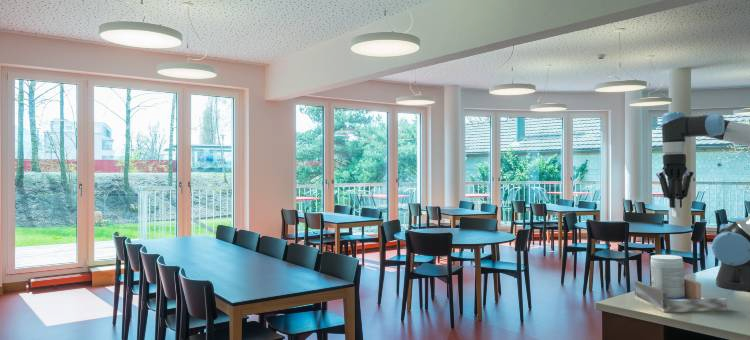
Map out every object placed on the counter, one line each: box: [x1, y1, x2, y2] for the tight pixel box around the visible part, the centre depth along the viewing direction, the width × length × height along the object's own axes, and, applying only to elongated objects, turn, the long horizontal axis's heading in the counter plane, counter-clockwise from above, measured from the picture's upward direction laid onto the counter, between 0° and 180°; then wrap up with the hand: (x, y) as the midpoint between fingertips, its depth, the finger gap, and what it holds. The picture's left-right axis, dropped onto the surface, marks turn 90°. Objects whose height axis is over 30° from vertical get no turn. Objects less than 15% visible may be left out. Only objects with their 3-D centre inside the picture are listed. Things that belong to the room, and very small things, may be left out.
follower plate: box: [684, 277, 702, 299], centre depth 170 cm, size 2×14×7 cm, turn 0°
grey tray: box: [634, 280, 728, 313], centre depth 170 cm, size 20×18×6 cm
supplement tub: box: [650, 254, 685, 300], centre depth 170 cm, size 10×10×15 cm
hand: (676, 216), depth 193 cm, fingers closed
